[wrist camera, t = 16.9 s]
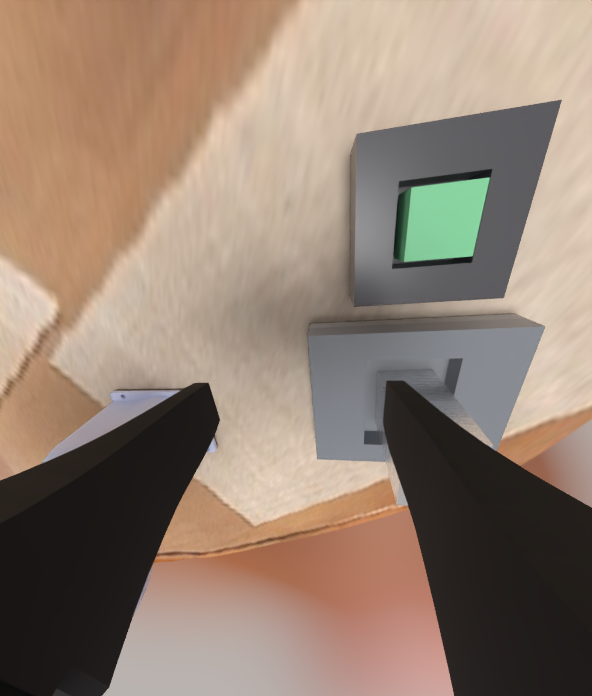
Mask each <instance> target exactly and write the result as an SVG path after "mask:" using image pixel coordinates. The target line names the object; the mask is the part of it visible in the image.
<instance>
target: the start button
mask: <svg viewBox="0 0 592 696" xmlns="http://www.w3.org/2000/svg"><path fill="white" fill-rule="evenodd" d="M489 179H490V177H489V178H481V179H474V180H466V181H458V182H450V183H442V184H435V185H427V186H419V187H412V188H410V189H408V190H406V191H405V192H403V193H401V194H399V203H398V215H397V228H396V240H395V252H394V259H397V260H400V261H403V262H410V261H422V260H434V259H446V258H458V257H470V256H473V253H474V248H475V243H476V239H477V234H478V230H479V225H480V221H481V216H482V211H483V207H484V202H485V198H486V193H487V189H488V184H489Z"/></svg>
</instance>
